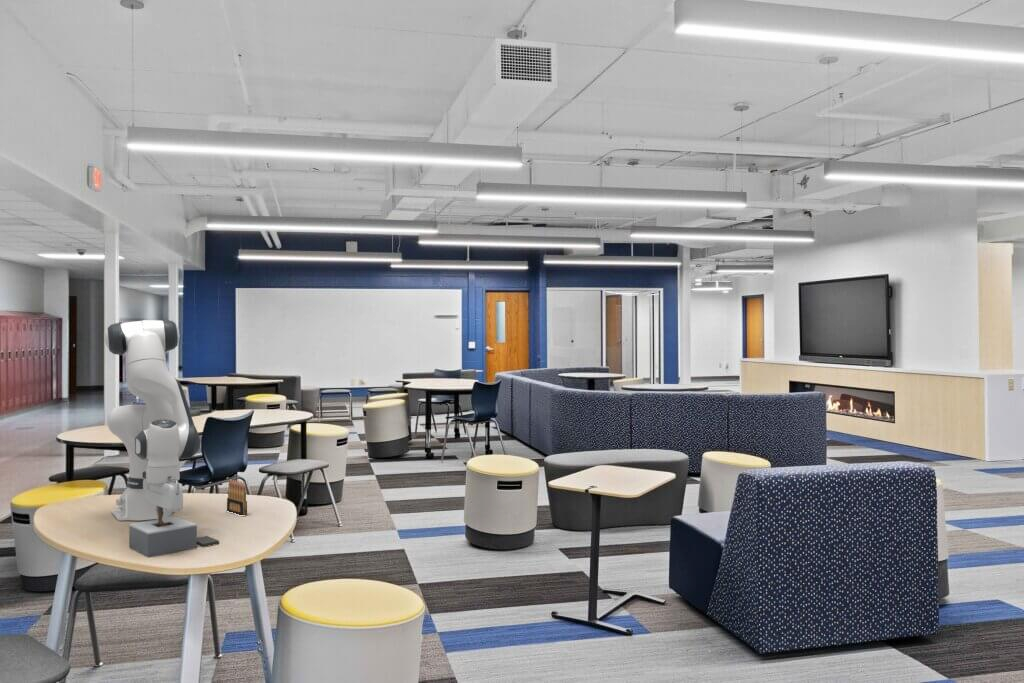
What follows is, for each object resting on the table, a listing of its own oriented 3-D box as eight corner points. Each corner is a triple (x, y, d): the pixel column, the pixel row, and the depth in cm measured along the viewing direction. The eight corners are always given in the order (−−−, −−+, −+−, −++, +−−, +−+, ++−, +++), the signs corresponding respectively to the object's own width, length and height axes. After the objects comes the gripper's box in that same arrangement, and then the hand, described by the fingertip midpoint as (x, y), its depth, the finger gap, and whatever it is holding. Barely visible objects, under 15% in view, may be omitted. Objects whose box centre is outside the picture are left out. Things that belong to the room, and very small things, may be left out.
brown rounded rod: (156, 536, 224) (156, 502, 224) (165, 534, 225) (165, 501, 225) (160, 538, 222) (160, 504, 222) (168, 536, 224) (169, 503, 224)
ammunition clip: (226, 511, 270) (226, 478, 270) (231, 511, 271) (231, 478, 271) (242, 516, 263) (242, 482, 263) (247, 515, 264) (247, 481, 264)
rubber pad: (191, 542, 230) (191, 538, 230) (207, 539, 234) (207, 535, 234) (202, 547, 225) (202, 543, 225) (219, 544, 228) (219, 540, 228)
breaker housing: (129, 547, 223) (129, 524, 223) (176, 538, 234) (176, 516, 234) (148, 557, 214) (148, 532, 214) (196, 547, 224) (196, 524, 224)
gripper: (189, 478, 219) (188, 525, 219) (160, 469, 233) (159, 513, 233) (167, 481, 214) (166, 529, 214) (139, 471, 228) (138, 517, 228)
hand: (163, 521), depth 224 cm, fingers closed on brown rounded rod, 3 cm apart
